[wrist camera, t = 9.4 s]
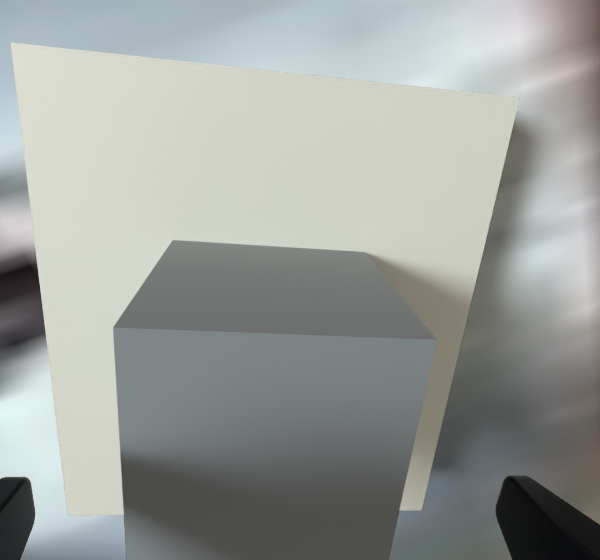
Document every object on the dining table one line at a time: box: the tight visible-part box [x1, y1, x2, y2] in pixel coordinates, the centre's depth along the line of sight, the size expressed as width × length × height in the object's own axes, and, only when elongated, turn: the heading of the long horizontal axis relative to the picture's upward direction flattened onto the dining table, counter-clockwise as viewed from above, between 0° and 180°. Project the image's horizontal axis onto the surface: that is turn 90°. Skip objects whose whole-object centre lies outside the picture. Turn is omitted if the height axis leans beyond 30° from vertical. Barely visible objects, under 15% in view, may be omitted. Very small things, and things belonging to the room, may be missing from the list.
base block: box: [11, 43, 520, 516], centre depth 16 cm, size 16×14×3 cm
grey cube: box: [113, 240, 437, 560], centre depth 12 cm, size 6×6×6 cm
